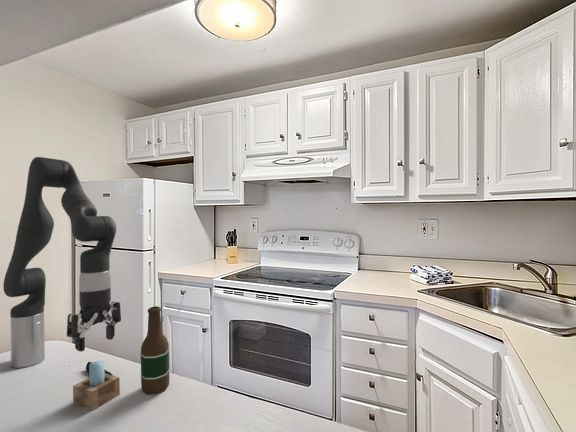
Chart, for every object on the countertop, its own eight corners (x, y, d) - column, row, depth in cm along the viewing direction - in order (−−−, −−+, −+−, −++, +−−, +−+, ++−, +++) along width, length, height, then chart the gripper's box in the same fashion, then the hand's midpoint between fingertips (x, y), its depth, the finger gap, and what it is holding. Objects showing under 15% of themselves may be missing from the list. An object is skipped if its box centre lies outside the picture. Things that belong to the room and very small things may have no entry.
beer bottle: (141, 384, 96) (140, 305, 96) (169, 379, 99) (167, 302, 99) (140, 398, 89) (139, 312, 89) (170, 391, 92) (168, 309, 92)
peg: (86, 401, 88) (86, 365, 88) (99, 394, 91) (98, 359, 91) (95, 404, 87) (95, 367, 87) (107, 397, 90) (107, 361, 90)
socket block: (73, 403, 87) (73, 385, 87) (100, 389, 94) (100, 372, 94) (93, 410, 84) (92, 391, 84) (119, 394, 91) (119, 377, 91)
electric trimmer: (95, 368, 109) (95, 359, 109) (115, 381, 99) (115, 371, 99) (83, 372, 106) (82, 363, 106) (102, 387, 96) (102, 376, 96)
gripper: (109, 281, 97) (109, 333, 97) (60, 291, 84) (60, 352, 84) (126, 283, 94) (127, 337, 94) (78, 294, 81) (79, 357, 81)
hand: (95, 344), depth 89 cm, fingers open, 8 cm apart
